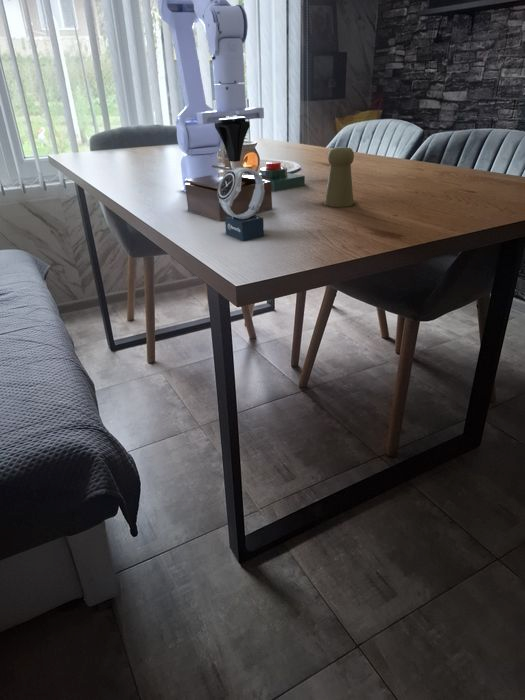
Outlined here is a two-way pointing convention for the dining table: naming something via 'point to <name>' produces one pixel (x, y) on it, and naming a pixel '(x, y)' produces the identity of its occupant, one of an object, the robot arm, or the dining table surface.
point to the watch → (246, 222)
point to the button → (273, 165)
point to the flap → (243, 172)
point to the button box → (281, 178)
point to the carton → (207, 202)
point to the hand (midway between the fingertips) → (234, 161)
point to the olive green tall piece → (340, 177)
